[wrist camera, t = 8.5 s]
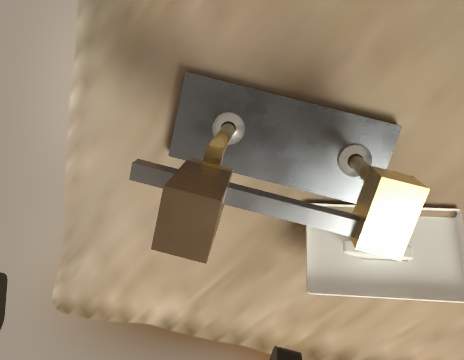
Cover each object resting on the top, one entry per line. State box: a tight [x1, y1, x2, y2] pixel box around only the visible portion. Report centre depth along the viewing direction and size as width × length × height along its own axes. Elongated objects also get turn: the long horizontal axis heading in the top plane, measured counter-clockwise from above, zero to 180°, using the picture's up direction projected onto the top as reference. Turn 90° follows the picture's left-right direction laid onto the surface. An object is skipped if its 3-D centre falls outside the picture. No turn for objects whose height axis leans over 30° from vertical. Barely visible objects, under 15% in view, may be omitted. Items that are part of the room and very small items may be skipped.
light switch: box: [306, 203, 464, 303], centre depth 38 cm, size 8×5×14 cm
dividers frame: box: [129, 155, 430, 261], centre depth 31 cm, size 18×5×12 cm, turn 76°
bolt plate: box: [169, 72, 402, 204], centre depth 37 cm, size 20×8×2 cm, turn 76°
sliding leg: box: [151, 123, 235, 263], centre depth 28 cm, size 3×5×17 cm, turn 167°
